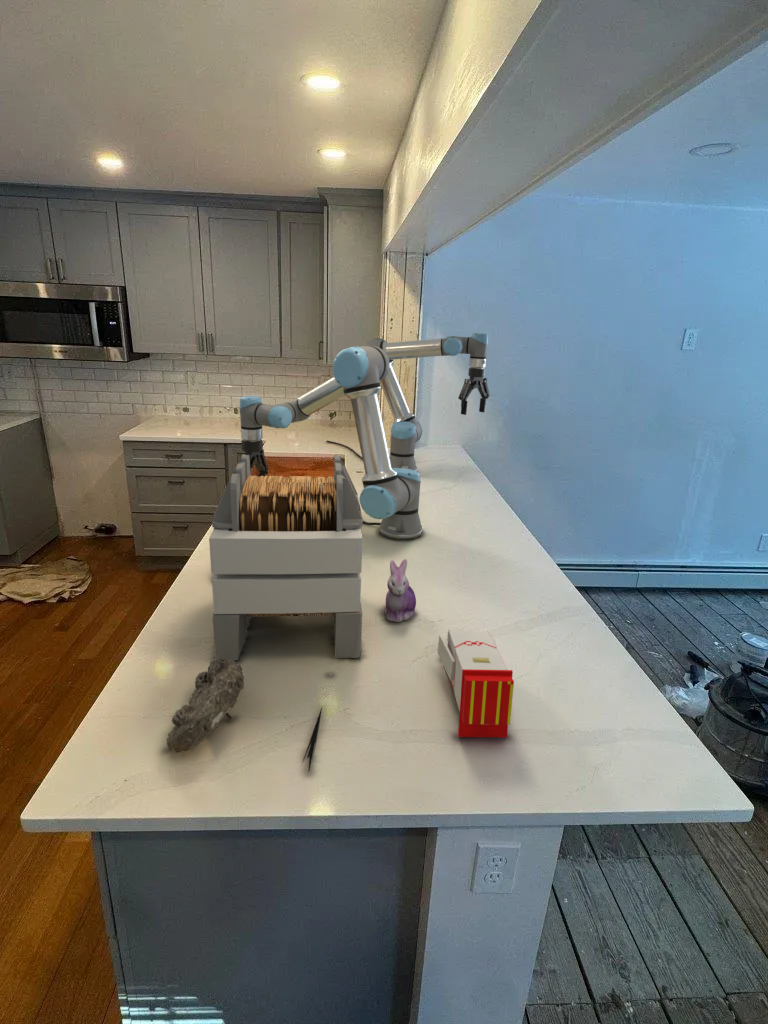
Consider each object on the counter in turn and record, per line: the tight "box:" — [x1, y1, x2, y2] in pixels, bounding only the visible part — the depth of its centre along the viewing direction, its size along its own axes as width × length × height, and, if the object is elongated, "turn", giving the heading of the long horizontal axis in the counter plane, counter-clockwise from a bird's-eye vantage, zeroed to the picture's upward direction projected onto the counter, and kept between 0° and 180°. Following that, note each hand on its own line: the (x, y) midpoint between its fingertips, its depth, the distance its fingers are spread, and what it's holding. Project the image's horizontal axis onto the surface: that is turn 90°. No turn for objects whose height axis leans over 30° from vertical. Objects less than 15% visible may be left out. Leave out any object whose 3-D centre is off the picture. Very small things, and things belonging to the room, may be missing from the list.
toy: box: [437, 628, 515, 738], centre depth 117 cm, size 12×13×30 cm
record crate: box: [208, 453, 364, 661], centre depth 135 cm, size 34×33×41 cm
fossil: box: [166, 659, 245, 754], centre depth 106 cm, size 22×10×15 cm
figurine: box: [384, 558, 417, 623], centre depth 145 cm, size 9×10×15 cm
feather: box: [301, 673, 332, 771], centre depth 108 cm, size 2×28×2 cm
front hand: (254, 495), depth 212 cm, fingers open, 13 cm apart
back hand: (472, 413), depth 272 cm, fingers open, 13 cm apart
